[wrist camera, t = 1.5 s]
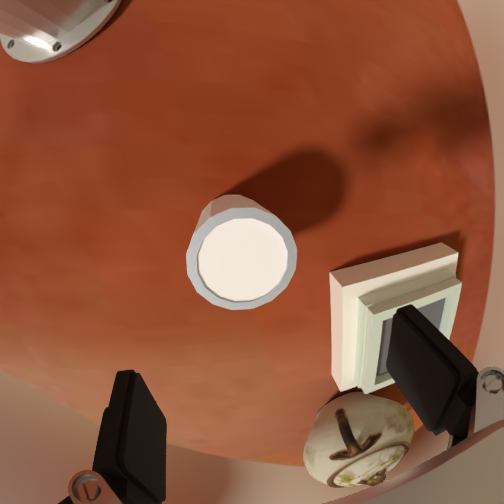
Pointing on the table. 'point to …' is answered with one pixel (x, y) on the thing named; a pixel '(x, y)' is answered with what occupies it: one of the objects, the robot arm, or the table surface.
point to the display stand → (387, 309)
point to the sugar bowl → (357, 440)
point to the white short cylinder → (240, 254)
